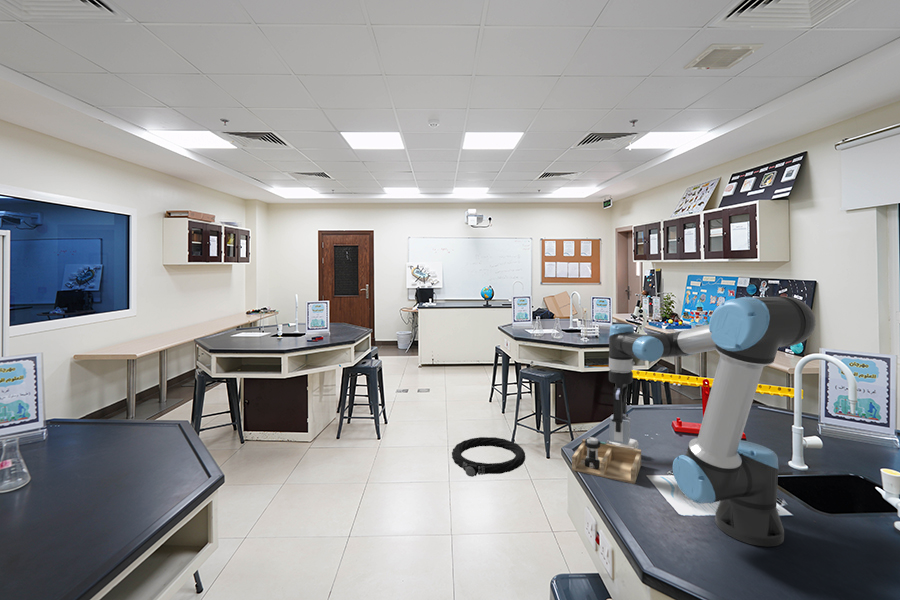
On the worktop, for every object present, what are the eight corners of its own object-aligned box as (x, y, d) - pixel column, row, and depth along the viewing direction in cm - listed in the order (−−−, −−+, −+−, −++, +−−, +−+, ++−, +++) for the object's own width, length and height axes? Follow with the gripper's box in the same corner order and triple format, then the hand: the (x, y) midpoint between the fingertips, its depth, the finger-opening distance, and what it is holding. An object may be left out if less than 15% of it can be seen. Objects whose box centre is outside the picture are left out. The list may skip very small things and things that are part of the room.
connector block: (627, 445, 143) (628, 418, 143) (608, 441, 146) (609, 414, 146) (629, 440, 147) (630, 413, 147) (611, 436, 150) (612, 411, 150)
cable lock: (534, 442, 167) (508, 475, 141) (534, 452, 168) (508, 486, 141) (470, 431, 180) (434, 458, 154) (470, 440, 181) (434, 469, 154)
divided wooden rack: (634, 484, 141) (634, 465, 140) (571, 470, 151) (571, 453, 151) (640, 465, 154) (641, 448, 154) (582, 453, 164) (583, 438, 164)
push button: (578, 467, 152) (578, 439, 151) (583, 461, 156) (583, 434, 155) (598, 471, 148) (598, 443, 147) (602, 465, 152) (602, 438, 152)
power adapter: (605, 450, 168) (605, 435, 167) (610, 446, 171) (611, 432, 170) (633, 458, 159) (634, 443, 159) (639, 454, 163) (639, 439, 162)
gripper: (628, 377, 136) (627, 449, 137) (636, 366, 151) (635, 431, 152) (603, 374, 139) (603, 445, 141) (613, 364, 154) (612, 427, 156)
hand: (619, 437), depth 147 cm, fingers closed on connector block, 4 cm apart
